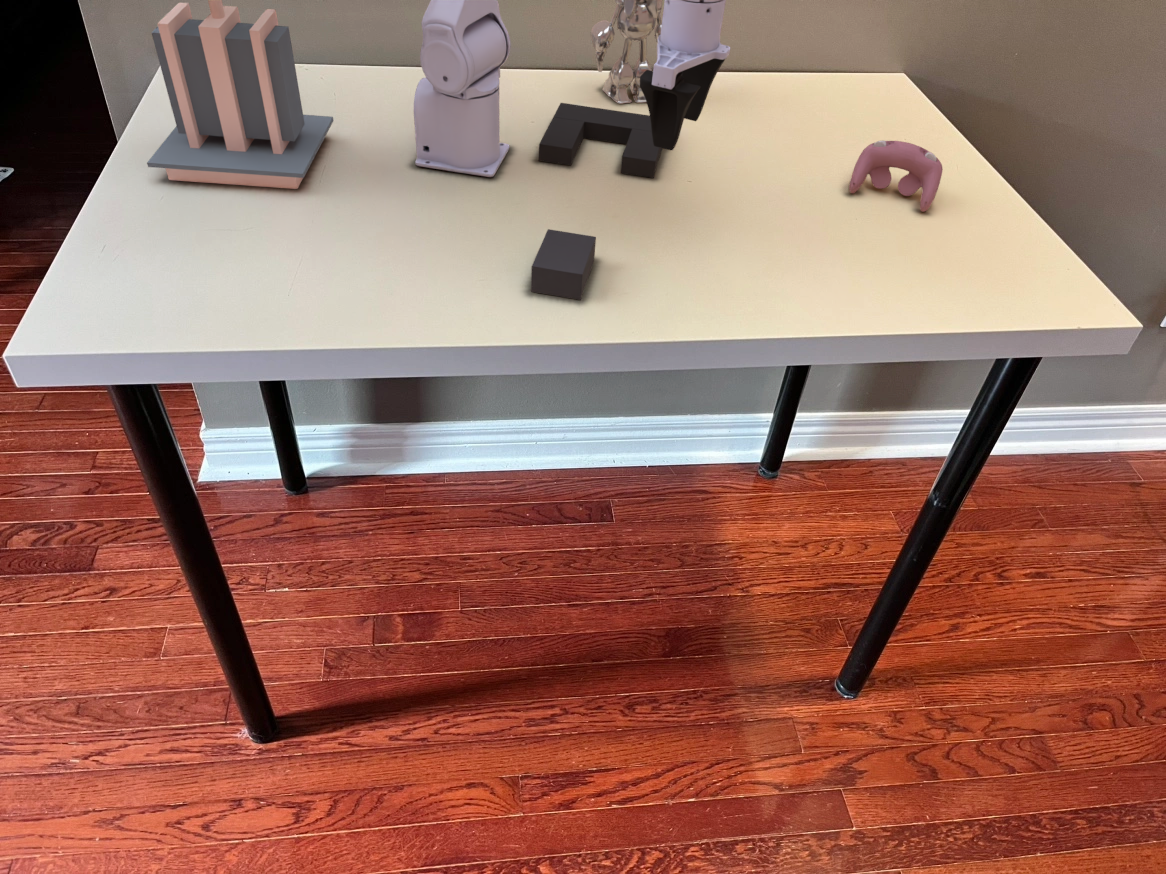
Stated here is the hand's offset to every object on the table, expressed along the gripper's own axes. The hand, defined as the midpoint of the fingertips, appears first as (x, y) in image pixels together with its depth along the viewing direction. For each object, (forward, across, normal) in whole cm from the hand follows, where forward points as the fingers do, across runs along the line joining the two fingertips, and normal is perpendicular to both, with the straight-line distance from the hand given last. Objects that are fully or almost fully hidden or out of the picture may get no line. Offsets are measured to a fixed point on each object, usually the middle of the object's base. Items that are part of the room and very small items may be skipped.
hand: (676, 132), depth 91 cm
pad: (+10, -16, +5) cm, 20 cm away
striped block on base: (+10, -12, +47) cm, 49 cm away
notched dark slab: (+10, +12, +12) cm, 20 cm away
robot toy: (+10, +29, +14) cm, 34 cm away
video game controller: (+10, +18, -22) cm, 31 cm away
